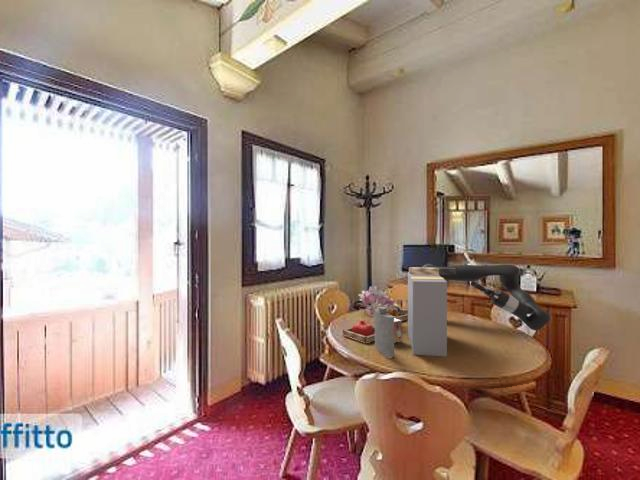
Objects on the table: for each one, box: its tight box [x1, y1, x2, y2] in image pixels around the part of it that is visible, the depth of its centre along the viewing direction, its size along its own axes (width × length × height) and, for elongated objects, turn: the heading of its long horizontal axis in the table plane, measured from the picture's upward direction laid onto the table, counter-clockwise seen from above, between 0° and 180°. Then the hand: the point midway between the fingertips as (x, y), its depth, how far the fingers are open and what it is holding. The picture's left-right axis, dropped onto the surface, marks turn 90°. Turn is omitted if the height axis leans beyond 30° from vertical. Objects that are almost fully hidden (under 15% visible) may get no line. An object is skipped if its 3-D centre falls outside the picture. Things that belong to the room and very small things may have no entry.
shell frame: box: [363, 307, 408, 322], centre depth 212 cm, size 26×20×3 cm
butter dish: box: [351, 319, 375, 337], centre depth 172 cm, size 12×12×8 cm
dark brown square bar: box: [408, 267, 456, 275], centre depth 166 cm, size 22×3×3 cm, turn 79°
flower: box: [357, 285, 398, 327], centre depth 189 cm, size 20×22×25 cm
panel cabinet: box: [407, 271, 448, 357], centre depth 161 cm, size 14×32×32 cm, turn 169°
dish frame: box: [342, 326, 375, 344], centre depth 172 cm, size 17×16×3 cm
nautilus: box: [377, 302, 402, 317], centre depth 211 cm, size 8×22×15 cm
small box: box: [394, 318, 403, 344], centre depth 164 cm, size 8×6×10 cm
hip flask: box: [374, 307, 395, 359], centre depth 150 cm, size 16×4×20 cm, turn 14°
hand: (473, 283), depth 163 cm, fingers open, 8 cm apart
